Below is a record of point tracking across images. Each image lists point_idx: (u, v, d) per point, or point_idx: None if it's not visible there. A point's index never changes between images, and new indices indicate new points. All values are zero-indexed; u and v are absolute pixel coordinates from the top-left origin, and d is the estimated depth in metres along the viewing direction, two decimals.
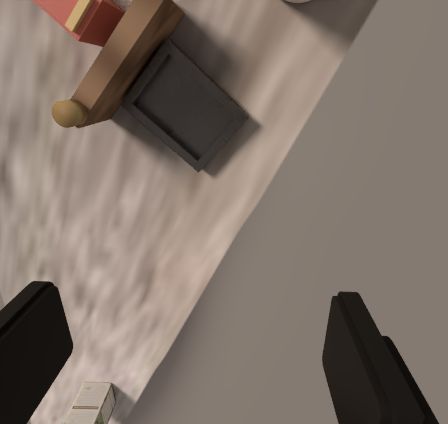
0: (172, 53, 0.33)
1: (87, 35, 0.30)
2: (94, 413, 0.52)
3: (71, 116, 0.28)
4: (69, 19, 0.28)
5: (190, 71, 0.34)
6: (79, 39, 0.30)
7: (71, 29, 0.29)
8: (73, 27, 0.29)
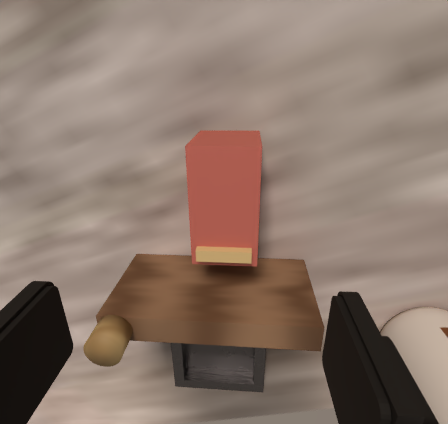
0: None
1: None
2: None
3: (108, 359, 0.19)
4: (206, 253, 0.20)
5: None
6: (194, 262, 0.21)
7: (198, 260, 0.20)
8: (202, 261, 0.20)
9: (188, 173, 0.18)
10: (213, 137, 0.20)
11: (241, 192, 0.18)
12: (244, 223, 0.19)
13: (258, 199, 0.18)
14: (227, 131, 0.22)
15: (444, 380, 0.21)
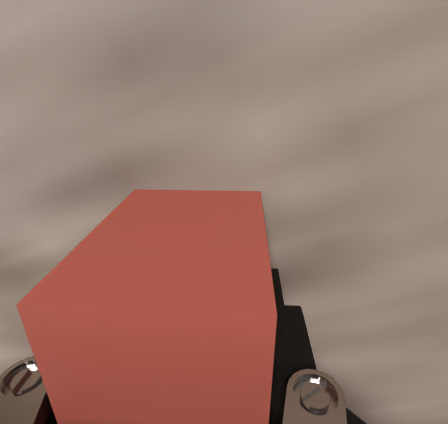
0: None
1: None
2: None
3: None
4: None
5: None
6: None
7: None
8: None
9: (44, 373, 0.06)
10: (144, 229, 0.08)
11: (210, 422, 0.06)
12: None
13: None
14: (190, 195, 0.10)
15: None
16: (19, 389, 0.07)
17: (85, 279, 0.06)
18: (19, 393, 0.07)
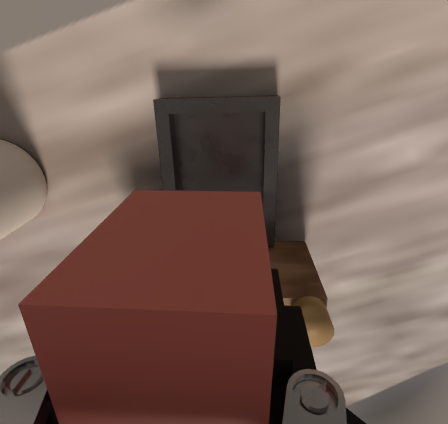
0: None
1: None
2: None
3: (310, 324, 0.19)
4: None
5: None
6: None
7: None
8: None
9: (46, 372, 0.06)
10: (145, 229, 0.08)
11: (211, 420, 0.06)
12: None
13: None
14: (190, 195, 0.10)
15: None
16: (19, 389, 0.07)
17: (86, 279, 0.06)
18: (19, 393, 0.07)
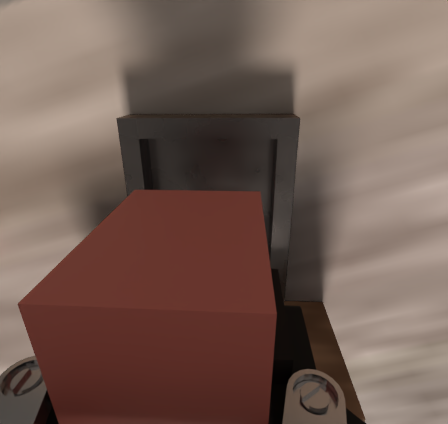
0: None
1: None
2: None
3: None
4: None
5: None
6: None
7: None
8: None
9: (45, 372, 0.06)
10: (144, 229, 0.08)
11: (211, 420, 0.06)
12: None
13: None
14: (190, 195, 0.10)
15: None
16: (19, 389, 0.07)
17: (86, 278, 0.06)
18: (19, 393, 0.07)
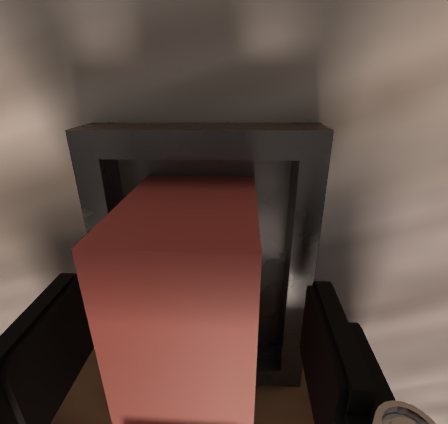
0: None
1: None
2: None
3: None
4: None
5: None
6: None
7: None
8: None
9: (88, 305, 0.08)
10: (159, 203, 0.10)
11: (213, 345, 0.08)
12: (224, 399, 0.09)
13: (253, 359, 0.08)
14: (195, 179, 0.12)
15: None
16: None
17: (118, 234, 0.08)
18: None
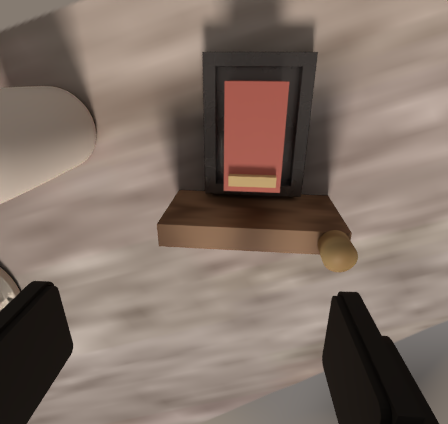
0: (212, 180, 0.29)
1: None
2: None
3: (337, 250, 0.21)
4: (238, 178, 0.23)
5: (213, 152, 0.27)
6: None
7: (230, 184, 0.23)
8: (234, 186, 0.23)
9: (225, 106, 0.22)
10: None
11: (269, 123, 0.22)
12: (271, 152, 0.23)
13: (284, 130, 0.22)
14: None
15: (46, 180, 0.24)
16: None
17: None
18: None
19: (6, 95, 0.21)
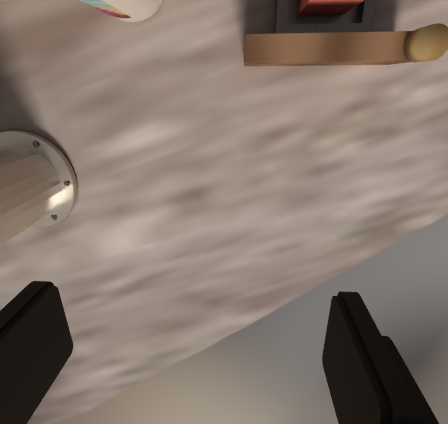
0: (284, 20, 0.29)
1: (315, 4, 0.26)
2: None
3: (431, 33, 0.22)
4: None
5: None
6: (310, 1, 0.25)
7: None
8: None
9: None
10: None
11: None
12: None
13: None
14: None
15: None
16: None
17: None
18: None
19: None
